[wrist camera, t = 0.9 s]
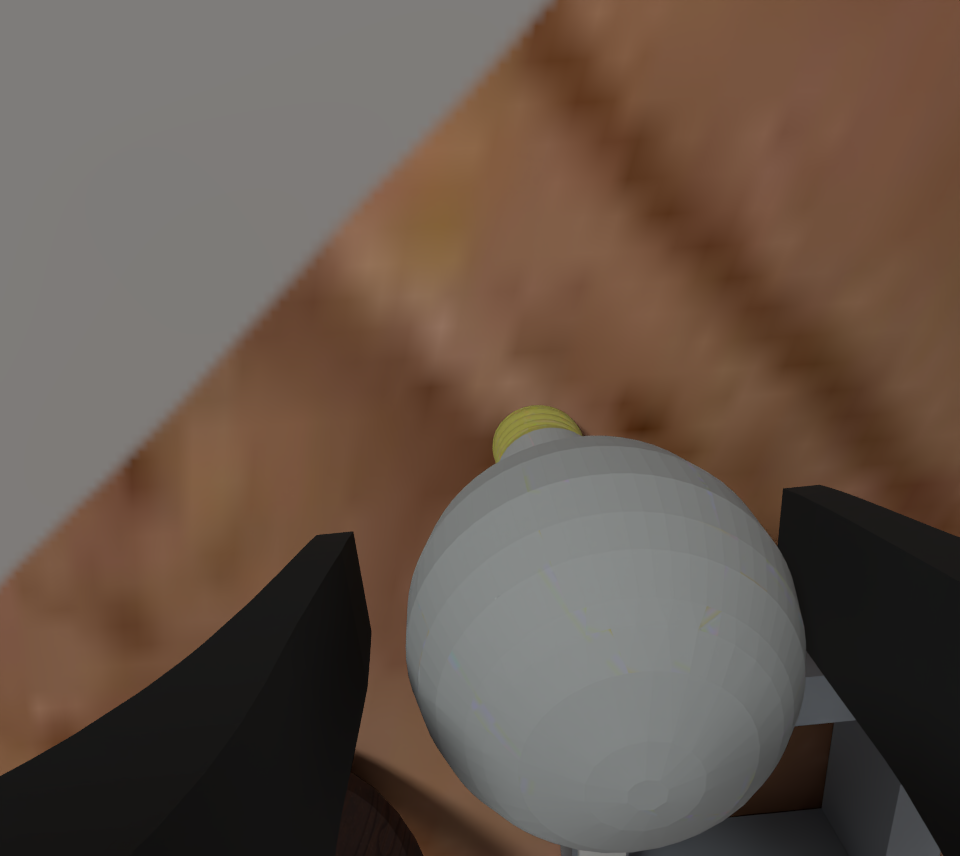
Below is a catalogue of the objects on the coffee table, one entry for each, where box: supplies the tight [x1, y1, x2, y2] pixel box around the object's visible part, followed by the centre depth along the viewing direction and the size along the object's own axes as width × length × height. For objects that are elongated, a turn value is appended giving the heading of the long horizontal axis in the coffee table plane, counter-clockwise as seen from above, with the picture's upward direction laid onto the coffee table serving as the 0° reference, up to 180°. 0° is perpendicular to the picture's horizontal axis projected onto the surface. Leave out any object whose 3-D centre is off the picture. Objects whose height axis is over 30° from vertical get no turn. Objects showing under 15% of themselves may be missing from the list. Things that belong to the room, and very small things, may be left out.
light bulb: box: [406, 405, 806, 853], centre depth 12 cm, size 6×5×10 cm
